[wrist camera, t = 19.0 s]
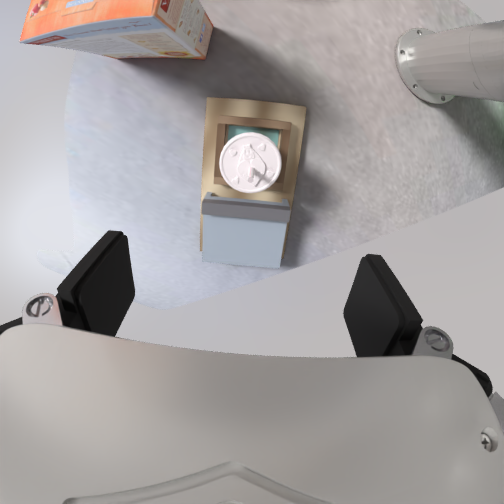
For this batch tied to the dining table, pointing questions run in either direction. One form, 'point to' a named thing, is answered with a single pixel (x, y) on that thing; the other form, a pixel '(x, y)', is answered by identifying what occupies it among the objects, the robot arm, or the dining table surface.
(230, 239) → the lid
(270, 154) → the smoothie
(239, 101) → the board
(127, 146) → the dining table surface
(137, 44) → the cracker box
